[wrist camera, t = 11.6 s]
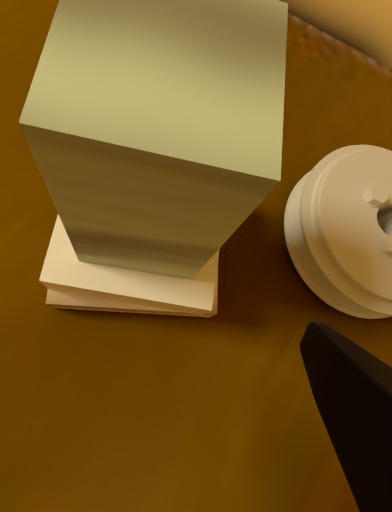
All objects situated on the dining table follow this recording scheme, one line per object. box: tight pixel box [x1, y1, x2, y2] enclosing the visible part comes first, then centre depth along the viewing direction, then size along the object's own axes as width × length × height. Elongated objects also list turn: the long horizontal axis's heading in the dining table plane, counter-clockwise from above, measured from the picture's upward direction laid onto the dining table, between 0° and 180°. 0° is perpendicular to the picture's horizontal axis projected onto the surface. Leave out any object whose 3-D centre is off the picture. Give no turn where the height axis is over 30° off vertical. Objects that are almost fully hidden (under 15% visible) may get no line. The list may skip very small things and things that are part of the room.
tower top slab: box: [39, 214, 220, 315], centre depth 20 cm, size 9×9×2 cm
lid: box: [284, 145, 392, 319], centre depth 25 cm, size 13×13×5 cm
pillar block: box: [19, 0, 288, 279], centre depth 14 cm, size 6×6×11 cm
